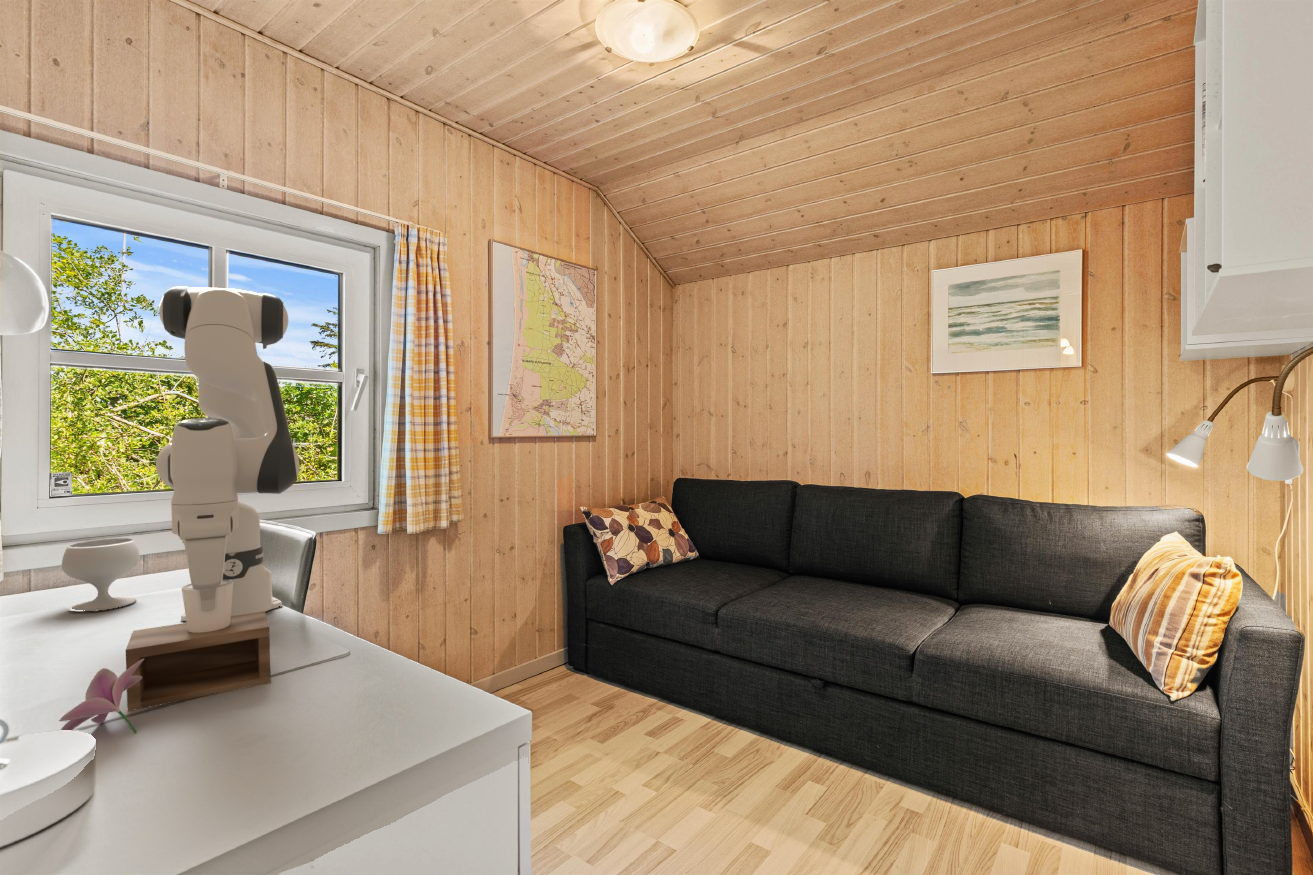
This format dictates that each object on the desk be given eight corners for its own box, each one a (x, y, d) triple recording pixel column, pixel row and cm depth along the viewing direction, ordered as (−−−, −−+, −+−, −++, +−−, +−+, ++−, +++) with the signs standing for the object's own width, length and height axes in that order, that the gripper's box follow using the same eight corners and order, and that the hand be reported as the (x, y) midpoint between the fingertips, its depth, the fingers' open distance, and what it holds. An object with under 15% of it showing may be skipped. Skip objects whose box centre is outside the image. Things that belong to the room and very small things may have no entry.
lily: (160, 713, 97) (122, 659, 97) (190, 698, 91) (151, 641, 90) (64, 775, 87) (22, 716, 86) (91, 763, 81) (46, 699, 80)
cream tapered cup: (208, 634, 102) (207, 589, 102) (171, 632, 103) (170, 588, 103) (244, 621, 108) (243, 579, 108) (209, 619, 110) (208, 578, 110)
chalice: (62, 606, 154) (60, 542, 154) (138, 595, 164) (136, 535, 163) (63, 618, 144) (61, 550, 144) (144, 606, 154) (142, 542, 153)
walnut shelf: (135, 686, 105) (133, 630, 105) (266, 662, 115) (264, 611, 115) (127, 711, 96) (125, 649, 96) (270, 682, 106) (269, 626, 106)
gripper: (184, 514, 112) (186, 595, 113) (178, 529, 95) (181, 624, 96) (228, 511, 116) (230, 589, 116) (230, 525, 99) (233, 617, 99)
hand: (208, 605), depth 106 cm, fingers closed on cream tapered cup, 5 cm apart
